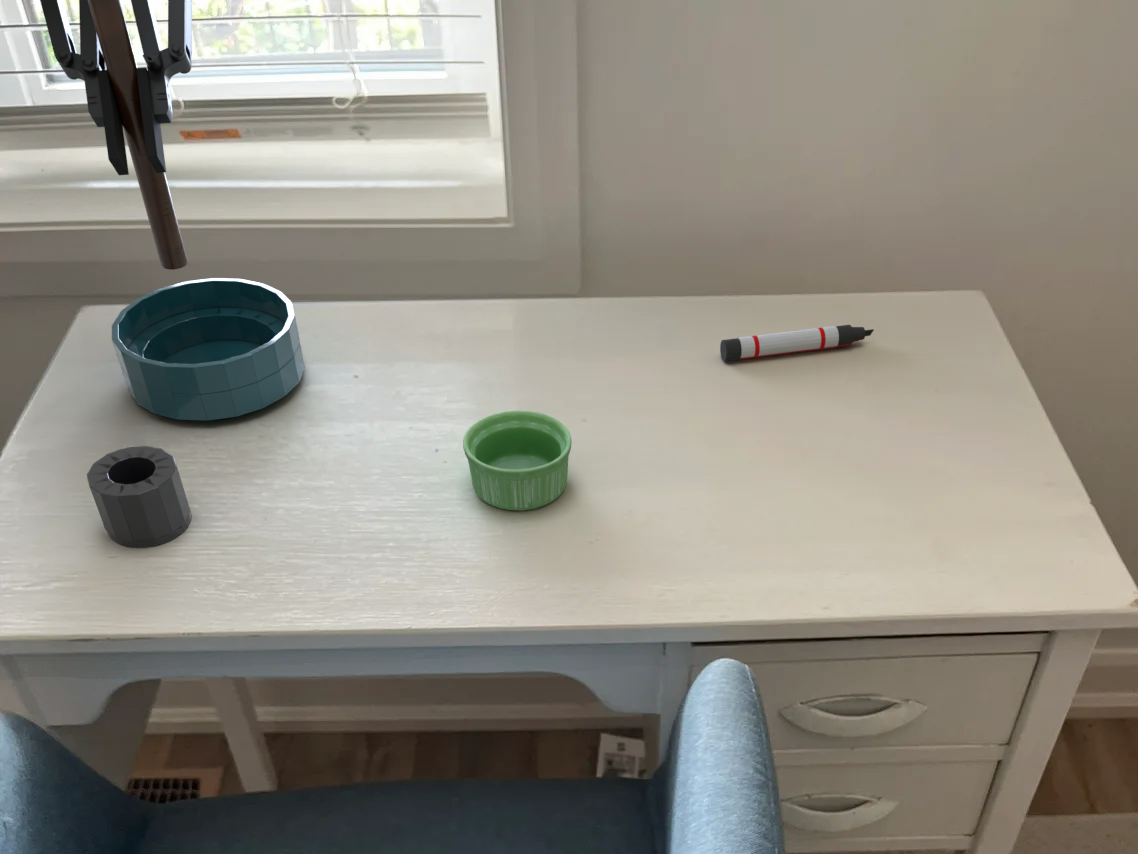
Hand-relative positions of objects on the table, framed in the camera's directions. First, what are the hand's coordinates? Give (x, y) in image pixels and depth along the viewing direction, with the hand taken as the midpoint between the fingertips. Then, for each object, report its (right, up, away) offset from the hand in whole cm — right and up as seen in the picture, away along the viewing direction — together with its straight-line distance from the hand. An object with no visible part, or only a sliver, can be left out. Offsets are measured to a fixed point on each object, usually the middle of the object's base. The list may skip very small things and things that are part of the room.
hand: (137, 165), depth 91 cm
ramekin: (+29, -22, +10) cm, 38 cm away
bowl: (0, -9, +21) cm, 23 cm away
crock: (-2, -26, +7) cm, 27 cm away
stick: (0, -3, +10) cm, 10 cm away
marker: (+55, -5, +25) cm, 61 cm away
